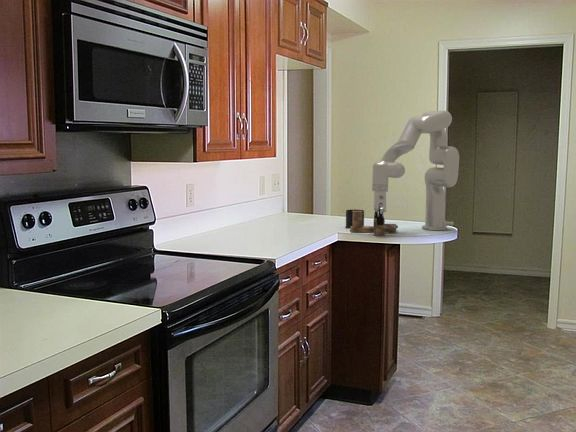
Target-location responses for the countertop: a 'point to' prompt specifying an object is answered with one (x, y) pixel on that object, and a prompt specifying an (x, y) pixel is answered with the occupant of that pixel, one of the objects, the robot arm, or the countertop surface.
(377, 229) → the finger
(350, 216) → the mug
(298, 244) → the countertop surface
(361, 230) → the rail
